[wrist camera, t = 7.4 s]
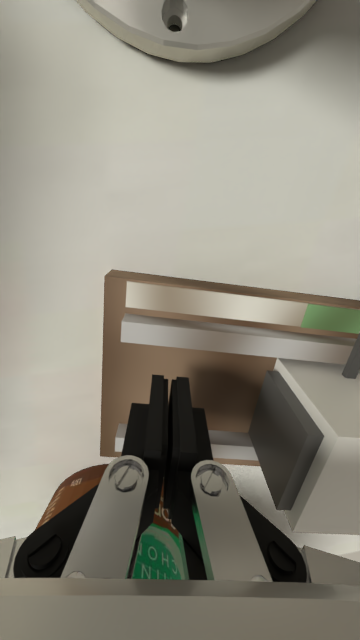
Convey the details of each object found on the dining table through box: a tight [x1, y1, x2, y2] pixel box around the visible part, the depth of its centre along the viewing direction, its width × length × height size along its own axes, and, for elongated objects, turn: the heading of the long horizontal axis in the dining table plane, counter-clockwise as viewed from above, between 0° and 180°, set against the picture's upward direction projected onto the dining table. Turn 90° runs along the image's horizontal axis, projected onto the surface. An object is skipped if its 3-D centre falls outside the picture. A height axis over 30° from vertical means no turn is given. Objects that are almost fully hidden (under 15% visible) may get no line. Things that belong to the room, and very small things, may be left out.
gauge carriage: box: [248, 333, 360, 535], centre depth 11 cm, size 7×7×5 cm
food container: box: [35, 464, 185, 580], centre depth 14 cm, size 12×6×10 cm, turn 60°
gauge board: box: [100, 270, 360, 466], centre depth 13 cm, size 24×11×6 cm, turn 82°
